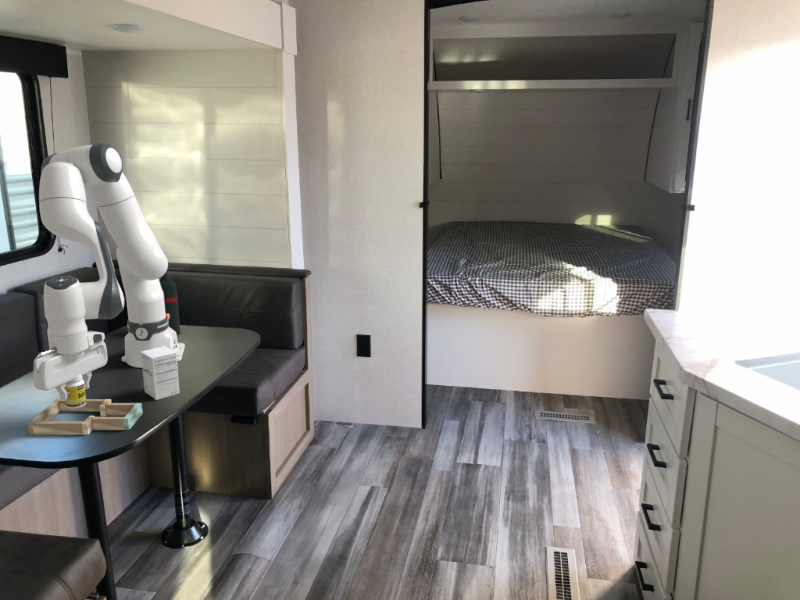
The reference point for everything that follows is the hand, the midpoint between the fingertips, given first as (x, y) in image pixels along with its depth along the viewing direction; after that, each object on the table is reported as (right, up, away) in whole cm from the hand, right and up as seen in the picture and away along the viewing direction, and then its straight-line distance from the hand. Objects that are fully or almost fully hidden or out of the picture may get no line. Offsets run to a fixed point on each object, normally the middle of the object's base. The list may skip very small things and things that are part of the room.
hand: (75, 393), depth 162 cm
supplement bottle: (0, -3, +1) cm, 3 cm away
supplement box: (+15, -3, +20) cm, 25 cm away
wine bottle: (-3, +11, +71) cm, 72 cm away
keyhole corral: (+3, -8, +2) cm, 8 cm away
